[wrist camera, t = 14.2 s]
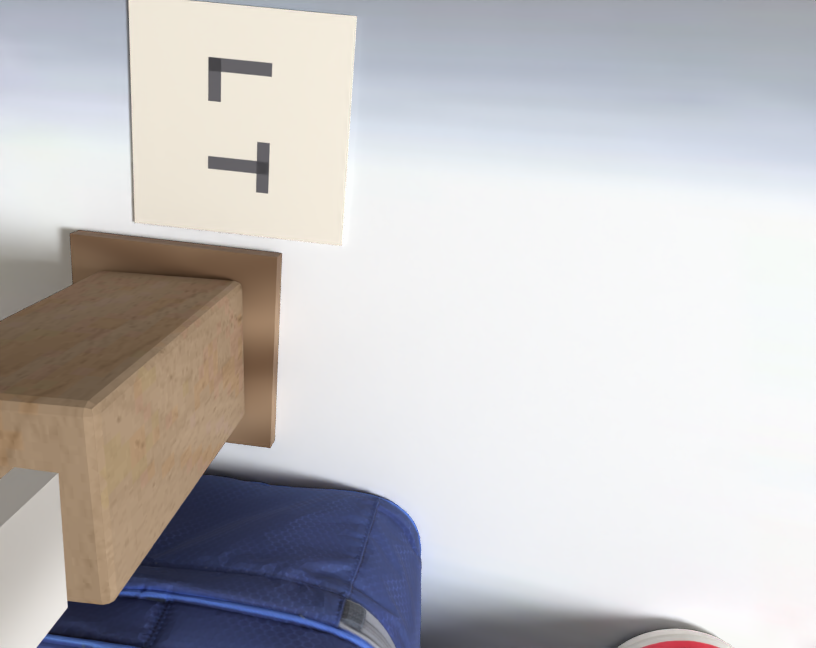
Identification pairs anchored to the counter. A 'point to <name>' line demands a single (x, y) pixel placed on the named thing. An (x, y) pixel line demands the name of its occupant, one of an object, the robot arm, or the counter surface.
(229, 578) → the lunch bag
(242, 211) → the tile
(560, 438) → the counter surface
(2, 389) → the wooden block
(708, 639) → the supplement tub
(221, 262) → the board
